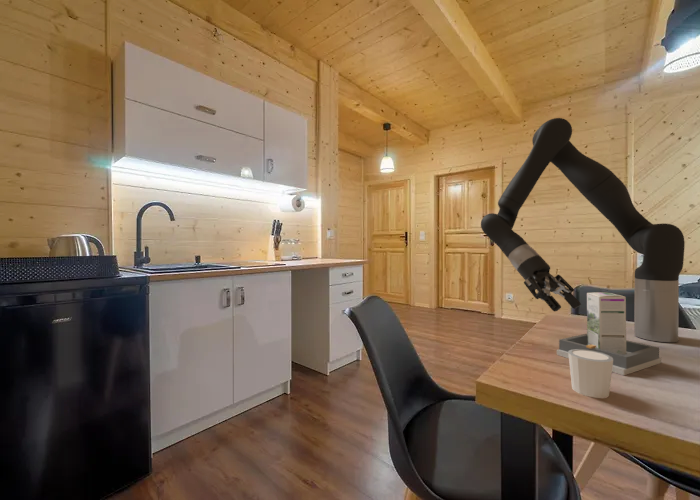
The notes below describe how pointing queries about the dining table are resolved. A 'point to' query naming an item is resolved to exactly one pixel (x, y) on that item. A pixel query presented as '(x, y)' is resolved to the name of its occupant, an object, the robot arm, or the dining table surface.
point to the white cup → (590, 372)
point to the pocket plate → (625, 364)
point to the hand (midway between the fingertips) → (568, 308)
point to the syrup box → (606, 321)
